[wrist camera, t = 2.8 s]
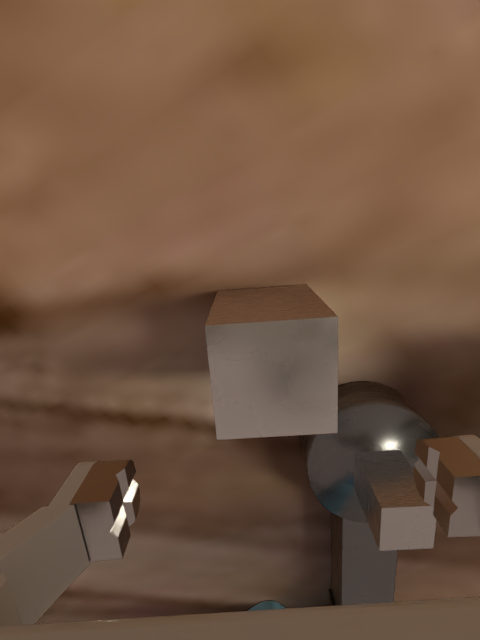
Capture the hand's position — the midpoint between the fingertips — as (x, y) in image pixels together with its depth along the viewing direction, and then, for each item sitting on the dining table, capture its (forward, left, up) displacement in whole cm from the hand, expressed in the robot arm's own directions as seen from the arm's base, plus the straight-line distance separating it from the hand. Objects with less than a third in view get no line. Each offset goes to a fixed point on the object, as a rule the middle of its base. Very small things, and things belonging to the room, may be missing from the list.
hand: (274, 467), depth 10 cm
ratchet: (-6, +16, -12) cm, 21 cm away
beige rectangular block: (0, 0, -12) cm, 12 cm away
